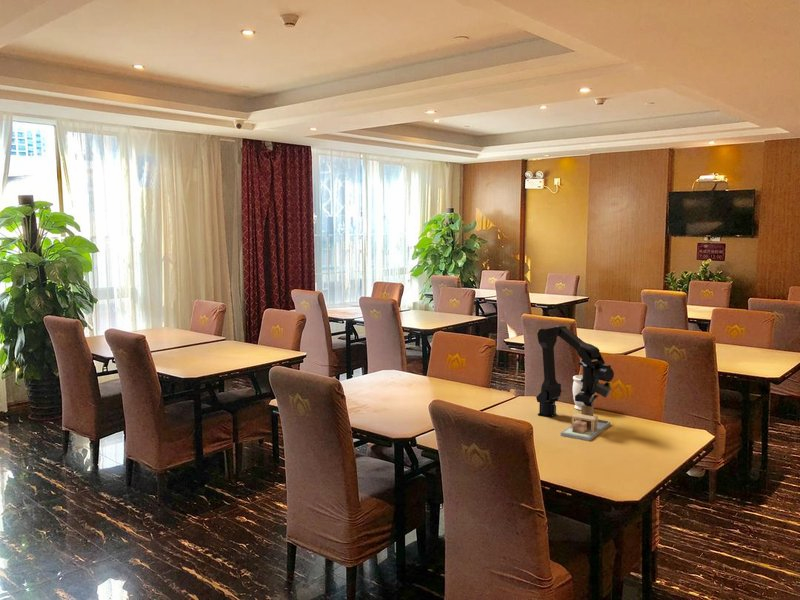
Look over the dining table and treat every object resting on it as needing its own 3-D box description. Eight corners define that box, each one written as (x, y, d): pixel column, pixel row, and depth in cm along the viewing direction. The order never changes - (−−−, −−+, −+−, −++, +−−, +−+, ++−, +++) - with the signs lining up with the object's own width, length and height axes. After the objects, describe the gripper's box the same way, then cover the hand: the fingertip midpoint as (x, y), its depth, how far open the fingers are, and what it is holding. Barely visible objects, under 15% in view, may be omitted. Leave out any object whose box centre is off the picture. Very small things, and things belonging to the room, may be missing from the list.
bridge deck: (560, 435, 265) (560, 420, 264) (583, 419, 286) (583, 405, 285) (589, 441, 258) (589, 425, 257) (610, 424, 279) (610, 410, 278)
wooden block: (572, 431, 266) (572, 411, 265) (581, 424, 275) (582, 404, 274) (583, 433, 263) (584, 412, 262) (593, 426, 272) (593, 406, 271)
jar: (597, 411, 298) (598, 379, 296) (575, 411, 298) (576, 380, 296) (591, 405, 309) (592, 374, 307) (569, 405, 309) (570, 374, 307)
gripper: (601, 385, 260) (601, 422, 262) (615, 373, 275) (615, 409, 277) (574, 381, 266) (574, 417, 268) (589, 370, 281) (589, 405, 283)
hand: (589, 412), depth 274 cm, fingers closed
